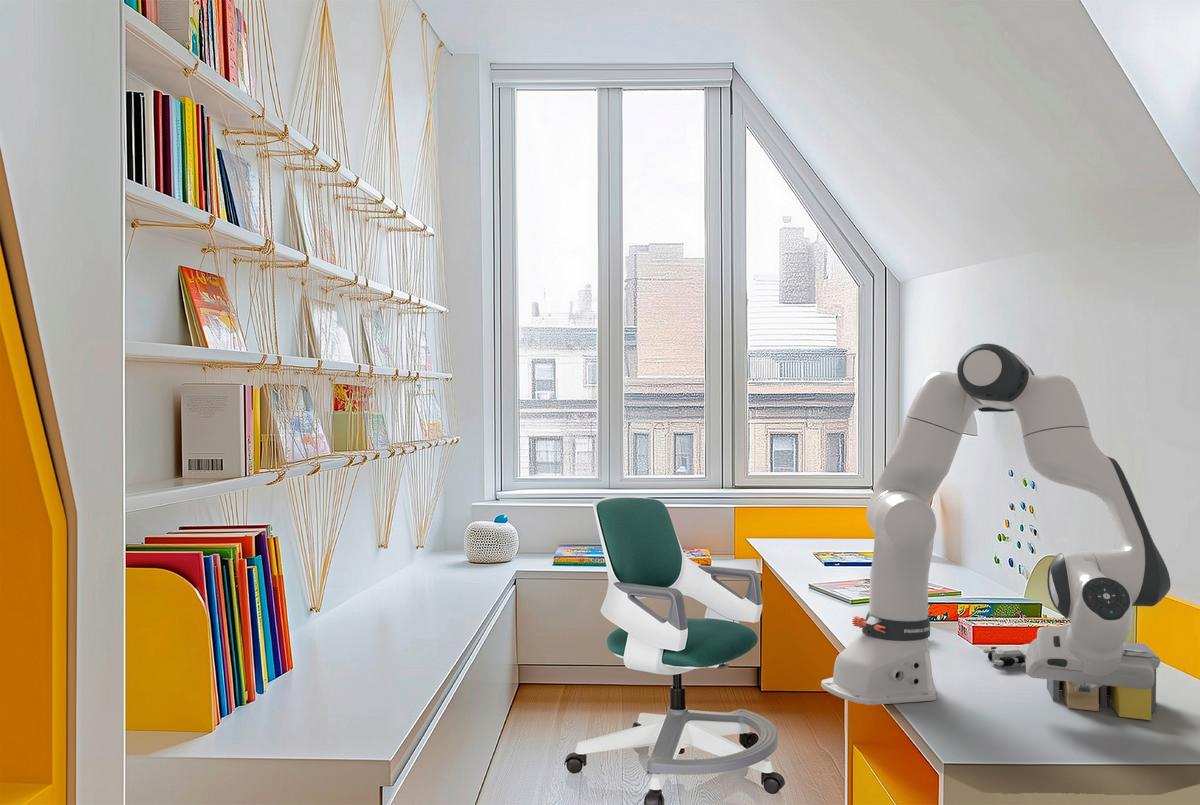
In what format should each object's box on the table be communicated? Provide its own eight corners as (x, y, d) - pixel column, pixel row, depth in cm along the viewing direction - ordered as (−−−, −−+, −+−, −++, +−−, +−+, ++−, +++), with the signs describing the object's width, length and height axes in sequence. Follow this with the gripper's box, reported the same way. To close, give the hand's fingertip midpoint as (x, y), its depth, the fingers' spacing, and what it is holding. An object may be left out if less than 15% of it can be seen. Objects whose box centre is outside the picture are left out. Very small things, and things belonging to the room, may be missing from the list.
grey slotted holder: (1155, 712, 166) (1156, 655, 166) (1053, 701, 172) (1053, 646, 172) (1144, 698, 175) (1145, 643, 175) (1046, 687, 181) (1047, 635, 181)
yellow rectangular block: (1151, 720, 161) (1151, 675, 161) (1119, 716, 163) (1119, 672, 163) (1140, 706, 169) (1141, 663, 169) (1110, 703, 171) (1111, 660, 171)
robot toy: (996, 677, 190) (1072, 677, 188) (994, 656, 190) (1071, 655, 188) (981, 661, 202) (1053, 660, 200) (980, 641, 203) (1052, 640, 200)
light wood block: (1098, 711, 166) (1098, 667, 166) (1068, 707, 168) (1068, 664, 168) (1090, 698, 173) (1091, 656, 174) (1061, 694, 175) (1062, 653, 175)
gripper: (1159, 638, 156) (1145, 679, 165) (1028, 626, 163) (1022, 667, 172) (1165, 671, 151) (1151, 711, 161) (1030, 658, 158) (1024, 697, 168)
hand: (1083, 688), depth 166 cm, fingers closed, pressing on light wood block
